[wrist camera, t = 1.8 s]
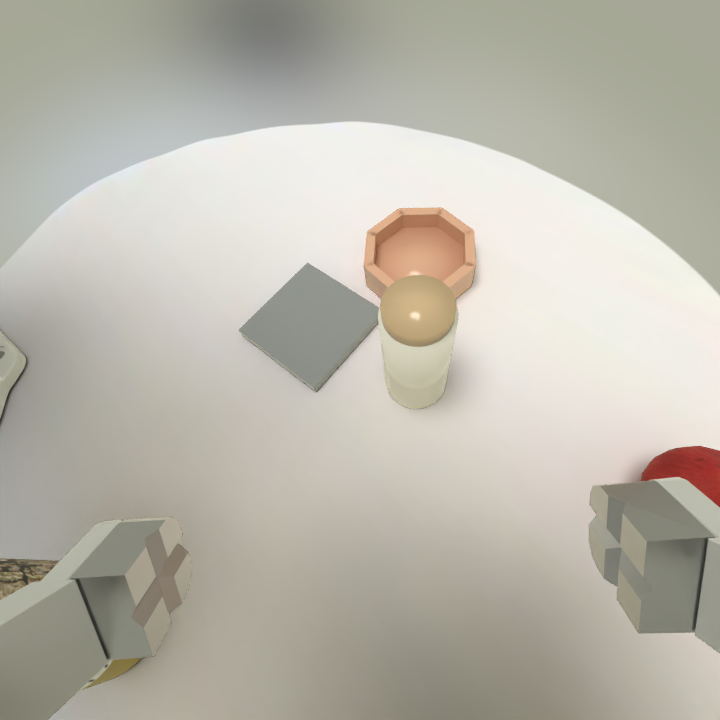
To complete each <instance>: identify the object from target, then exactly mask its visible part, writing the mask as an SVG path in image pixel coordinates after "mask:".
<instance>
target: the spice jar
mask: <svg viewBox="0 0 720 720" xmlns="http://www.w3.org/2000/svg"><path fill="white" fill-rule="evenodd" d="M378 322H379V330H380V338H381V346H382V354H383V362H384V370H385V378H386V386H387V390H388V392H389V394H390V396H391V397H392V398H393V400H395V401H396V402H397V403H398V404H400V405H402V406H404V407H406V408H410V409H422V408H426V407H429V406H431V405H433V404H434V403H436V402H437V401H438V400H439V399H440V398H441V396H442V395H443V393H444V390H445V386H446V381H447V376H448V370H449V365H450V360H451V354H452V349H453V344H454V339H455V333H456V328H457V323H458V309H457V306H456V299H455V296H454V294H453V292H452V291H451V289H450V288H449V287H448V286H447V285H446V284H445V283H443V282H442V281H440V280H438V279H436V278H434V277H431V276H426V275H412V276H407V277H404V278H401V279H399V280H397V281H395V282H394V283H393V284H391V285H390V286H389V287H388V288H387V289H386V291H385V292H384V294H383V296H382V299H381V304H380V307H379V311H378Z"/></svg>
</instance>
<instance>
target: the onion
mask: <svg viewBox="0 0 720 720" xmlns="http://www.w3.org/2000/svg"><path fill="white" fill-rule="evenodd" d="M672 477H680V478H683V479H686V480H687V481H689V482H690V483H691V484H692V485H693V486H695V487H696V488H697V489H698V490H699V491H701V492H702V493H703V494H704V495H705V496H707V497H708V498H709V499H710V500H711V501H713V502H714V503H715V504H716V505H717V506H719V507H720V451H718V450H714V449H710V448H706V447H702V446H692V447H682V448H675V449H672V450H669V451H667V452H665V453H663V454H661V455H659V456H657V457H655V458H654V459H653V460H652V461H651V462H650V463H649V465H648V466H647V468H646V469H645V470H644V472H643V473H642V480H641V481H649V480H654V479H663V478H672Z"/></svg>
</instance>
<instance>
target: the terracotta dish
mask: <svg viewBox="0 0 720 720" xmlns="http://www.w3.org/2000/svg"><path fill="white" fill-rule="evenodd" d="M475 267H476V261H475V240H474V230H473V229H471V228H470V227H469V226H467V225H466V224H464V223H463V222H462V221H460V220H459V219H457V218H456V217H454V216H453V215H452V214H450V213H449V212H447V211H446V210H445V209H443V208H399V209H397V210H396V211H395V212H393V213H392V214H391V215H389V216H388V217H386V218H385V219H384V220H382V221H381V222H380V223H378V224H377V225H375V226H374V227H373V228H371V229H370V230H369V231H367V237H366V248H365V258H364V271H365V278H366V284H367V287H369V288H370V289H371V290H372V291H373V292H374V293H375V294H376V295H378V296H379V297H380V298H381V299H382V296H383V294H384V292H385V291H386V289H387V288H388V287H389V286H390V285H391V284H393V283H394V282H395V281H397V280H399V279H401V278H404V277H407V276H412V275H426V276H431V277H434V278H436V279H438V280H440V281H442V282H443V283H445V284H446V285H447V286H448V287H449V288H450V289H451V291H452V292H453V294H454V296H455V299H456V298H458V297H459V296H460V295H461V294H463V293H464V292H465V291H466V290H467V289H469V288H470V287H471V285H472V281H473V276H474V271H475Z"/></svg>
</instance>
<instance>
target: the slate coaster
mask: <svg viewBox="0 0 720 720" xmlns="http://www.w3.org/2000/svg"><path fill="white" fill-rule="evenodd" d="M378 311H379V307H377V306H375V305H374V304H372V303H371V302H369V301H367V300H366V299H364V298H363V297H361V296H359V295H358V294H356V293H355V292H353V291H352V290H350V289H348V288H347V287H345V286H344V285H342V284H340V283H339V282H337V281H336V280H334V279H333V278H331V277H329V276H328V275H326V274H325V273H323V272H321V271H320V270H318V269H317V268H315V267H313V266H312V265H310V264H309V263H307V264H306V265H305V266H304V267H303V268H302V269H301V270H300V271H299V272H298V273H297V274H295V275H294V276H293V277H292V278H291V279H290V280H289V281H288V282H287V283H286V284H285V285H284V286H283V287H282V288H281V289H280V290H279V291H278V292H277V293H276V294H275V295H274V296H273V297H272V298H271V299H270V300H269V301H268V302H267V303H266V304H265V305H264V306H263V307H262V308H261V309H260V310H259V311H258V312H257V313H256V314H255V315H254V316H253V317H251V318H250V319H249V320H248V321H247V322H246V323H245V324H244V325H243V326H242V327H241V328H240V329H239V331H240V333H241V334H242V336H243V337H245V338H246V339H247V340H249V341H250V342H251V343H253V344H254V345H255V346H256V347H258V348H259V349H260V350H262V351H263V352H264V353H266V354H267V355H268V356H269V357H271V358H272V359H273V360H275V361H276V362H277V363H278V364H280V365H281V366H282V367H284V368H285V369H286V370H288V371H289V372H290V373H291V374H293V375H294V376H295V377H297V378H298V379H299V380H301V381H302V382H303V383H304V384H306V385H307V386H308V387H310V388H311V389H312V390H313V391H315V392H317V391H318V390H319V388H320V387H321V386H322V385H323V384H324V383H325V382H326V381H327V379H328V378H329V377H330V376H331V375H332V374H333V373H334V372H335V371H336V369H337V368H338V367H339V366H340V365H341V364H342V363H343V362H344V361H345V359H346V358H347V357H348V356H349V355H350V354H351V353H352V352H353V351H354V349H355V348H356V347H357V346H358V345H359V344H360V343H361V342H362V340H363V339H364V338H365V337H366V336H367V335H368V334H369V333H370V332H371V330H372V329H373V328H374V327H375V326H376V325H377V324H378V323H379V322H378Z"/></svg>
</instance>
